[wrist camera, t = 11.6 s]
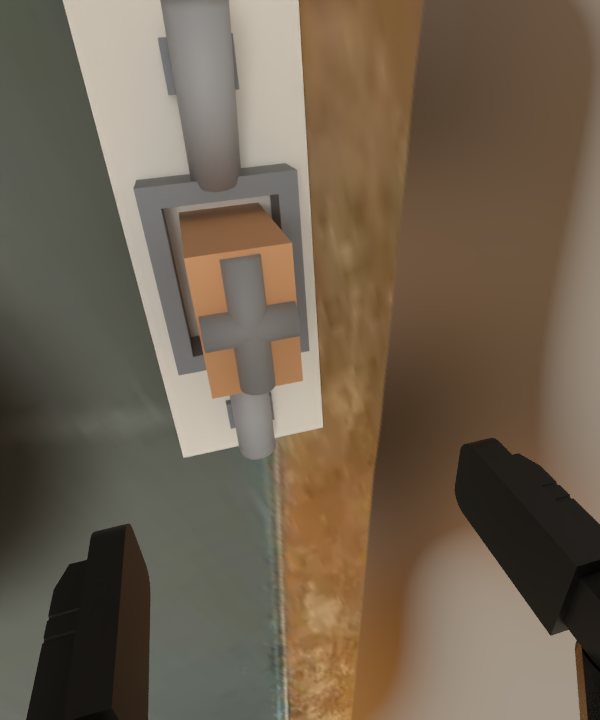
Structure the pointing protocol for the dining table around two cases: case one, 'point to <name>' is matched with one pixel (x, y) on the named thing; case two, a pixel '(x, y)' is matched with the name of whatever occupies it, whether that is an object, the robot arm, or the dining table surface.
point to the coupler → (243, 298)
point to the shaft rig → (204, 178)
